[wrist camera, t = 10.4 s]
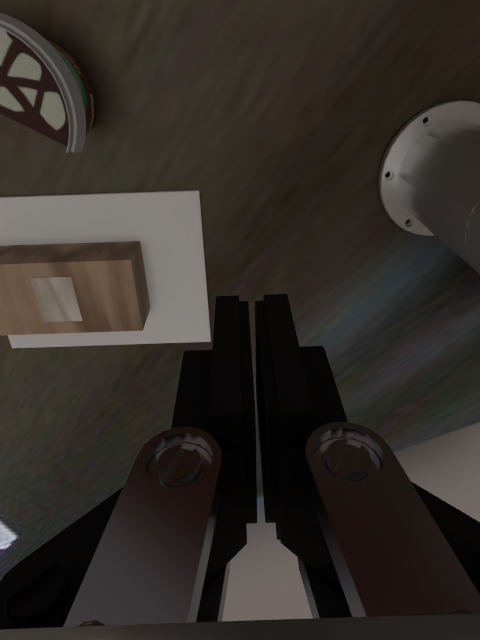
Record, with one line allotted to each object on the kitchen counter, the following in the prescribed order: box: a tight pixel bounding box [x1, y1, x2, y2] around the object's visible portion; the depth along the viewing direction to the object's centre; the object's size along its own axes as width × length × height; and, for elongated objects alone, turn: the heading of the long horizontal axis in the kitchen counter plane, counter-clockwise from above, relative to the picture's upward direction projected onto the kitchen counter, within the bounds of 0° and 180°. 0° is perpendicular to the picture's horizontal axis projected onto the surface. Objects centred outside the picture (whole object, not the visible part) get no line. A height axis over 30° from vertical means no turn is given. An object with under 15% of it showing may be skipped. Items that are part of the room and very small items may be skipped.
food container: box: [0, 13, 95, 153], centre depth 33 cm, size 12×6×10 cm, turn 62°
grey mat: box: [0, 190, 211, 348], centre depth 48 cm, size 24×18×1 cm
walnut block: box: [0, 241, 151, 335], centre depth 45 cm, size 5×8×15 cm
